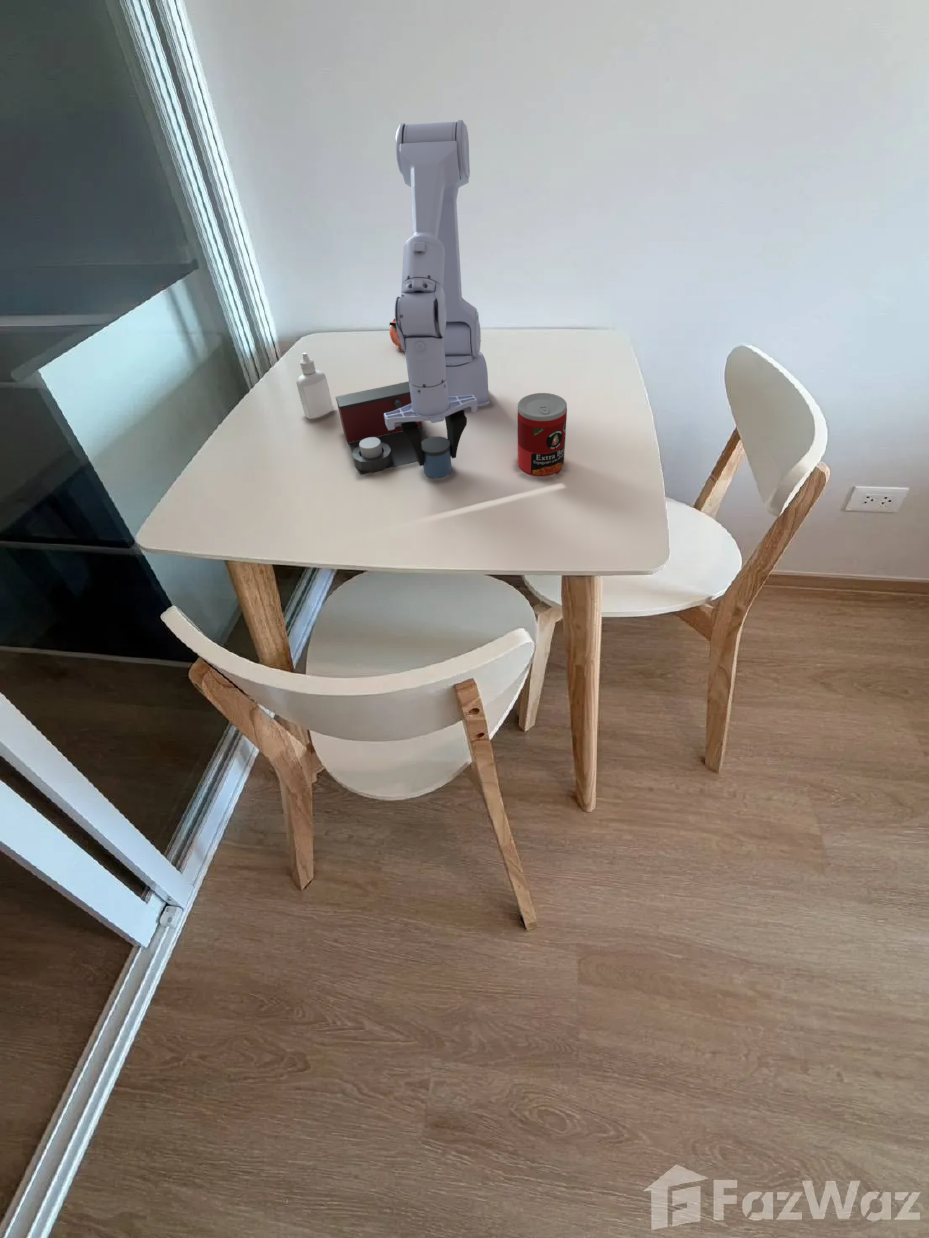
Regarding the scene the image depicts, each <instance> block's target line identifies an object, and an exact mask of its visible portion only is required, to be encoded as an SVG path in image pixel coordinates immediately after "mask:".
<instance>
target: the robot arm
mask: <svg viewBox="0 0 929 1238" xmlns="http://www.w3.org/2000/svg"><path fill="white" fill-rule="evenodd" d="M469 145H470V142H469V131H468V126H467V124H466V123H465V121H464V120H463V119H458V120H457V121H443V122H442V121H441V122H428V123H427V122H426V123H410V124H409V123H407V124H406V123H402V122H401V123H399V125H398V128H397V129H396V133H395V154H396V161H397V166H398V170H399V173H400V174H401V175H402V177H403V181H404V184H405V185H406V186H408V187H410V197H411V199H410V200H411V227H412V228H411V230H412V233H411V234H412V235H411V236H410V237H409V238H408V239H406V241H405V242H404V244H403V254H402V255H403V257H402V270H401V271H402V273H401V288H400V289H401V292H400V296H396V298H395V302H394V319H395V322H396V328H397V332H398V335H399V338H400V342H401V348H402V349H401V348H400V349H401V351H402V352H404V356H405V362H406V370H407V377H408V382H409V387H410V394H411V402H412V403H411V404H409V405H406V406H404V407H402V408H399V409H397V410H394V411H392V412H388V413H384V418H385V424H386V427H387V429H388V430H393V429H395V427H397V426H401V428H402V430H403V432H404V434H405V435H406V437H407V438H408V440H409V441H410V443H411V444H412V446H413V449H414V451H415V454H416V458H417V461H418V462H417V463H418V465H419V466H420V467H423V465H424V458H423V453H422V445H421V432H420V430H419V429H418V428H419V427H418V425H417V423H416V422H420V421H421V422H430V423H432V424H436V423H440V422H444V421H445V427H446V438H447V439H448V440H449V441H450V444H451V448H450V454H451V459H456V458H457V454H458V447H459V444H460V440H461V437H462V435H463V432H464V430H465V429H466V427H467V425H468V418H467V416H466V415H465V412H470V413H475V412H478V407H482V406H486V405H489V404H490V403H491V401H489V375H488V374H489V373H488V366H487V361H486V358H485V356H484V353H482V352H481V341H482V340H481V336H482V334H481V333H482V332H481V324H480V318H479V312H478V309H477V307H475V305H473V304H471V303H470V302H469V301H467V300H466V299H464V298H463V291H462V275H461V260H460V259H461V258H460V237H459V221H458V220H459V219H458V204H457V203H458V202H457V201H458V194H459V188H461V187H463V186H465V185H467V184H469V179H470V176H471V175H470V174H471V170H470V146H469Z"/></svg>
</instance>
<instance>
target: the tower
mask: <svg viewBox="0 0 929 1238" xmlns="http://www.w3.org/2000/svg"><path fill="white" fill-rule="evenodd" d="M335 401H336V405H337V409H338V414H339V418H340V422H341V426H342V431H343V434H344V435H343V436H344V438H345V440H346V443H347V444H348V443H352V442H356V441H361V440H363V439H365V438H369V437H379V436H383V435H388V434H392V433H397V432H401V431H403V430H402V428H401V426H397V427H395V429H393V430H388V429H387V427H386V424H385V418H384V413H388V412H392V411H394V410H397V409H399V408H402V407H404V406H406V405H409V404H411V403H412V402H411V394H410V387H409V381H404V382H399V383H395V384H390V385H384V386H380V387H376V388H375V387H374V388H372V389H365V390H361V391H357V392H352V393H347V394H342V395H336V396H335ZM422 422H423V421H420V422H416V423H417V425H418V428H419V427H423V423H422Z"/></svg>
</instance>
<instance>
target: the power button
mask: <svg viewBox="0 0 929 1238" xmlns="http://www.w3.org/2000/svg"><path fill="white" fill-rule="evenodd" d="M359 446H360V451H361V455H362V457H364V458H375V457H378V456H380V455H381V454H382V447H381V441H380V440H379V439H378V438H375V437H369V438H365V439H363V440H360V443H359Z"/></svg>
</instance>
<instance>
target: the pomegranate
mask: <svg viewBox="0 0 929 1238" xmlns="http://www.w3.org/2000/svg"><path fill="white" fill-rule="evenodd" d="M388 325H389V327H390V328H389V336H390V339H391V342H392V343H393V344H394V345H395V346H396V347H398V348H399V349H400V350H402V348H401V342H400V338H399V335H398V332H397V328H396V322H395V318H393V320H392V322H390V321H389V324H388Z"/></svg>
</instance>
